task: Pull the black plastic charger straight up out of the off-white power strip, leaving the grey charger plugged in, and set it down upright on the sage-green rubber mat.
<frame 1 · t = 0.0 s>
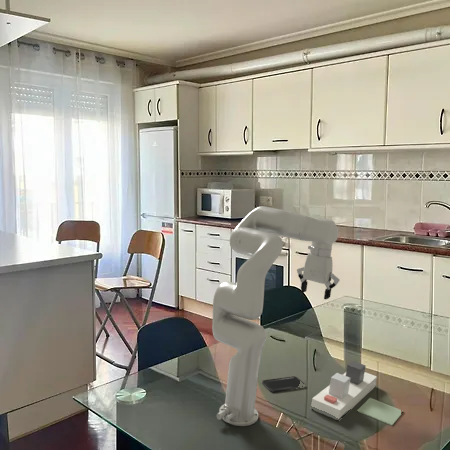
hand: (314, 295, 191), 31 cm above the table, tool pointing down, fingers open, 9 cm apart
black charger: (353, 385, 185), point 2 cm above the table, touching power strip
grey charger: (337, 399, 174), point 2 cm above the table, touching power strip
phone: (283, 386, 184), on the table
green mat: (380, 411, 172), on the table
power strip: (344, 397, 180), on the table
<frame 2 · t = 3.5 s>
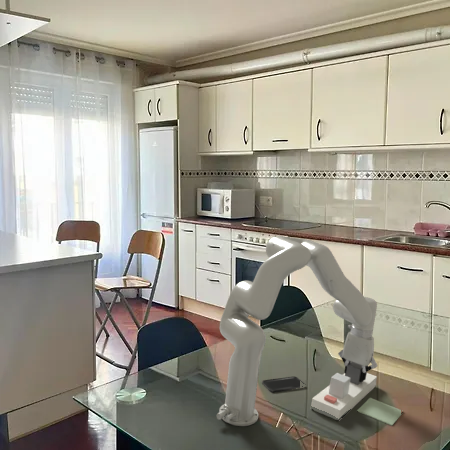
hand: (354, 377, 185), 5 cm above the table, tool pointing down, fingers closed on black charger, 5 cm apart
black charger: (353, 385, 185), point 2 cm above the table, touching gripper, power strip
everything else where it was.
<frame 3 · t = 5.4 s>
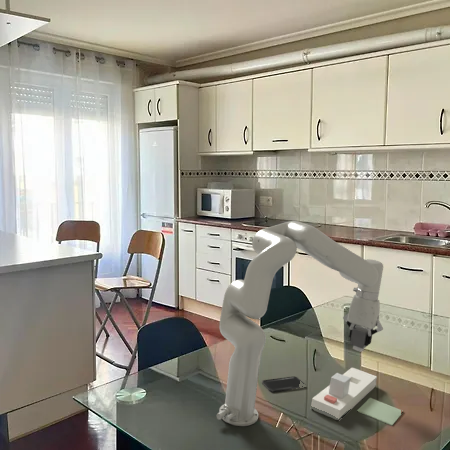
hand: (359, 342, 182), 19 cm above the table, tool pointing down, fingers closed on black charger, 5 cm apart
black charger: (358, 349, 182), point 16 cm above the table, touching gripper
everything else where it was.
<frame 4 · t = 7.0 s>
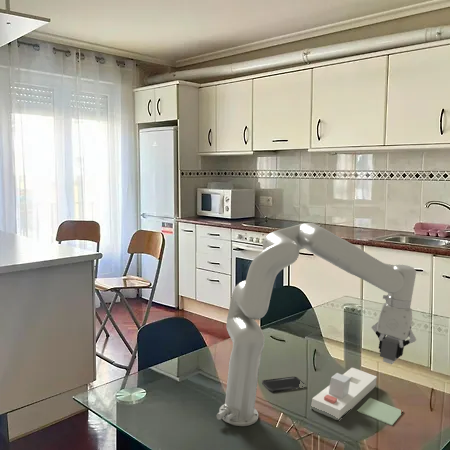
hand: (390, 353, 169), 21 cm above the table, tool pointing down, fingers closed on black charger, 5 cm apart
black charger: (388, 362, 169), point 18 cm above the table, touching gripper
everything else where it was.
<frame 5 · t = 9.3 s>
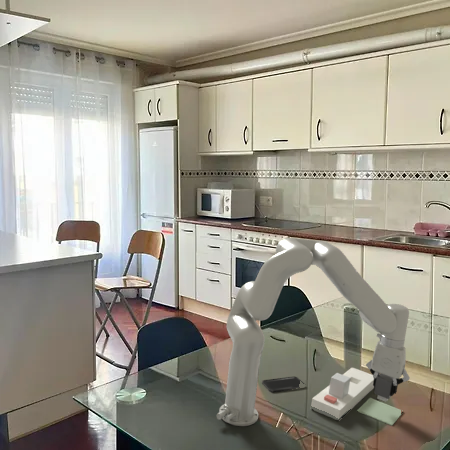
hand: (384, 391, 171), 8 cm above the table, tool pointing down, fingers closed on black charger, 5 cm apart
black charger: (382, 399, 172), point 5 cm above the table, touching gripper
everything else where it was.
when the fingers open (4 cm above the table, at t = 10.9 s): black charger drops 1 cm, resting on green mat.
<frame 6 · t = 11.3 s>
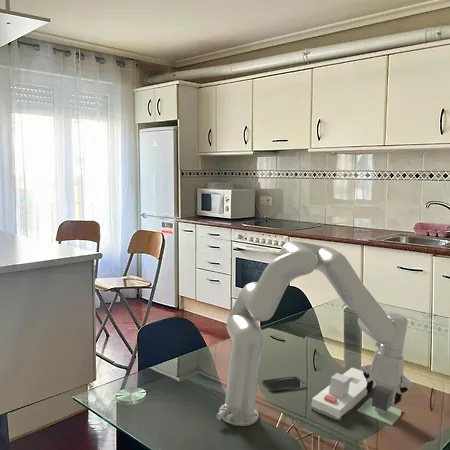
hand: (382, 397, 171), 5 cm above the table, tool pointing down, fingers open, 9 cm apart
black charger: (380, 411, 172), resting on green mat
everything else where it was.
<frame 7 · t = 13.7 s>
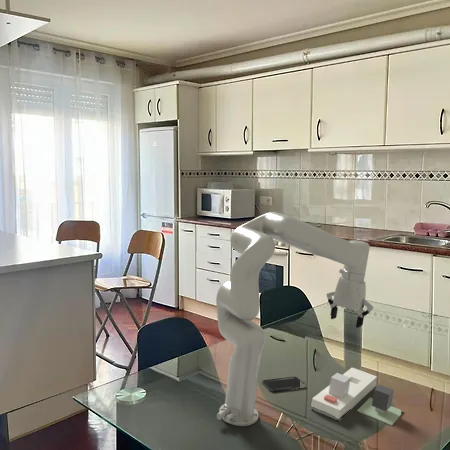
hand: (345, 322, 178), 27 cm above the table, tool pointing down, fingers open, 9 cm apart
nothing on the table moved.
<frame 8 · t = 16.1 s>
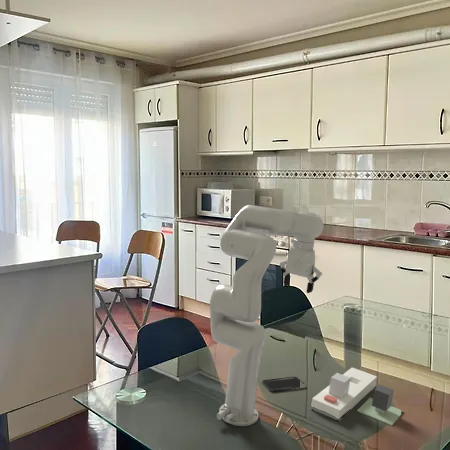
hand: (297, 289, 190), 33 cm above the table, tool pointing down, fingers open, 9 cm apart
nothing on the table moved.
at the end: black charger inside the target area on the green mat (0.0 cm from its centre), point 0.2 cm above the green mat's base; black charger tilted 0°; grey charger moved 0.0 cm from its start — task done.
